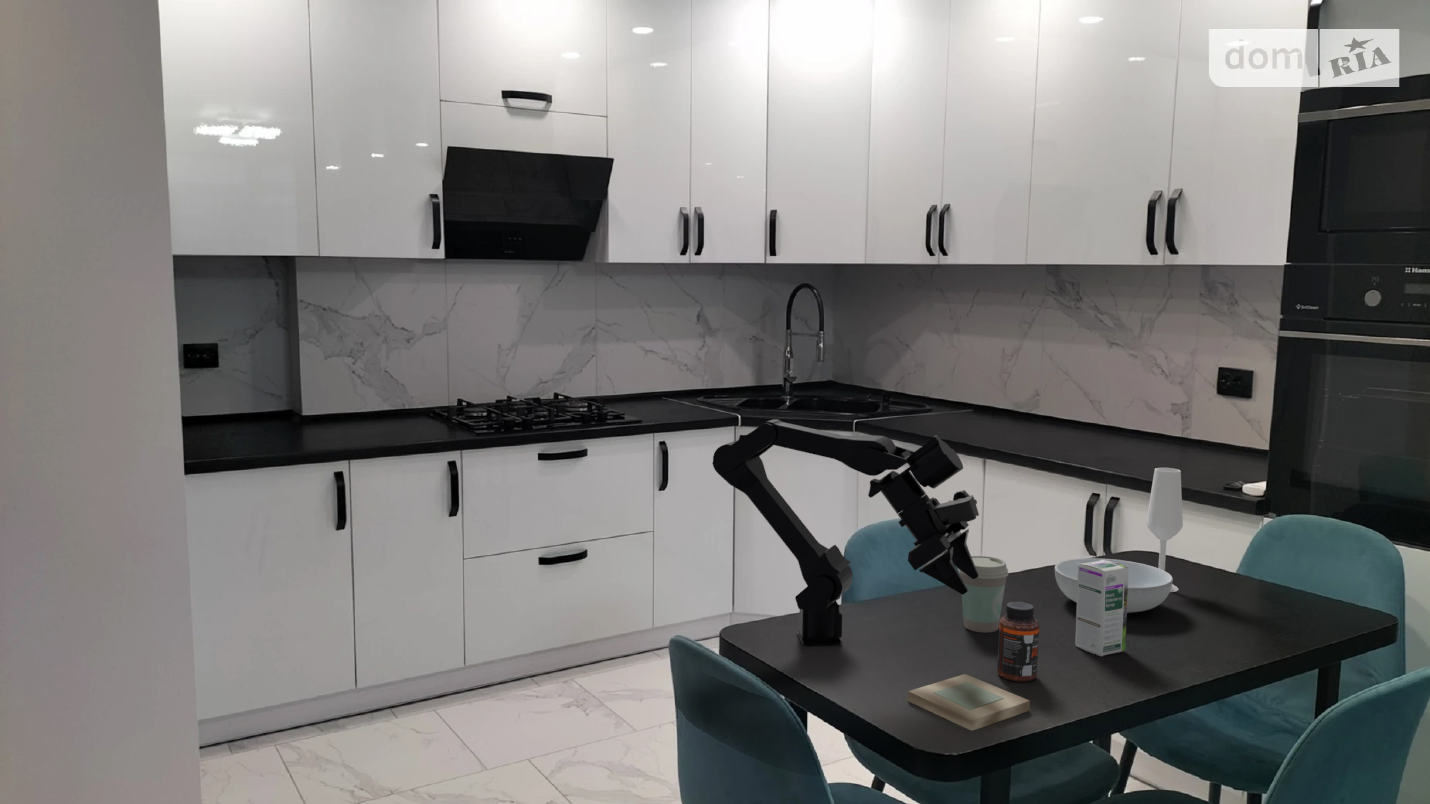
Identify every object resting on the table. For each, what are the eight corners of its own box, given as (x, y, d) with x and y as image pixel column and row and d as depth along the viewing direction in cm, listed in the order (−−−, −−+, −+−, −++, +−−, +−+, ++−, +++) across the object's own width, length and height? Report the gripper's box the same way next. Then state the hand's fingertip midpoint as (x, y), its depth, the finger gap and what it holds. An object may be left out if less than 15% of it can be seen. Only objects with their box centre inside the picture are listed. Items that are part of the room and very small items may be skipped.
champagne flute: (1155, 580, 212) (1162, 465, 209) (1185, 588, 206) (1193, 471, 203) (1135, 585, 208) (1142, 468, 205) (1165, 594, 202) (1172, 474, 200)
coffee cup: (997, 638, 176) (1000, 570, 175) (949, 629, 181) (952, 563, 179) (1012, 625, 183) (1014, 559, 182) (965, 616, 188) (967, 552, 186)
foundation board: (971, 730, 140) (972, 719, 139) (908, 701, 149) (908, 690, 149) (1029, 710, 146) (1029, 700, 146) (964, 683, 156) (965, 673, 156)
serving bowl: (1178, 601, 198) (1181, 567, 197) (1160, 632, 180) (1162, 594, 180) (1068, 584, 209) (1069, 551, 208) (1040, 611, 191) (1041, 575, 191)
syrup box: (1101, 657, 168) (1105, 570, 166) (1073, 646, 173) (1077, 562, 171) (1125, 651, 170) (1130, 566, 169) (1097, 640, 176) (1102, 558, 174)
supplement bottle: (1038, 685, 156) (1042, 612, 155) (998, 681, 157) (1001, 609, 156) (1034, 670, 162) (1038, 600, 160) (995, 667, 163) (998, 598, 162)
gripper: (939, 487, 154) (1003, 573, 152) (963, 467, 171) (1021, 545, 168) (881, 526, 159) (943, 611, 156) (910, 503, 175) (966, 580, 173)
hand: (970, 585), depth 163 cm, fingers open, 9 cm apart
